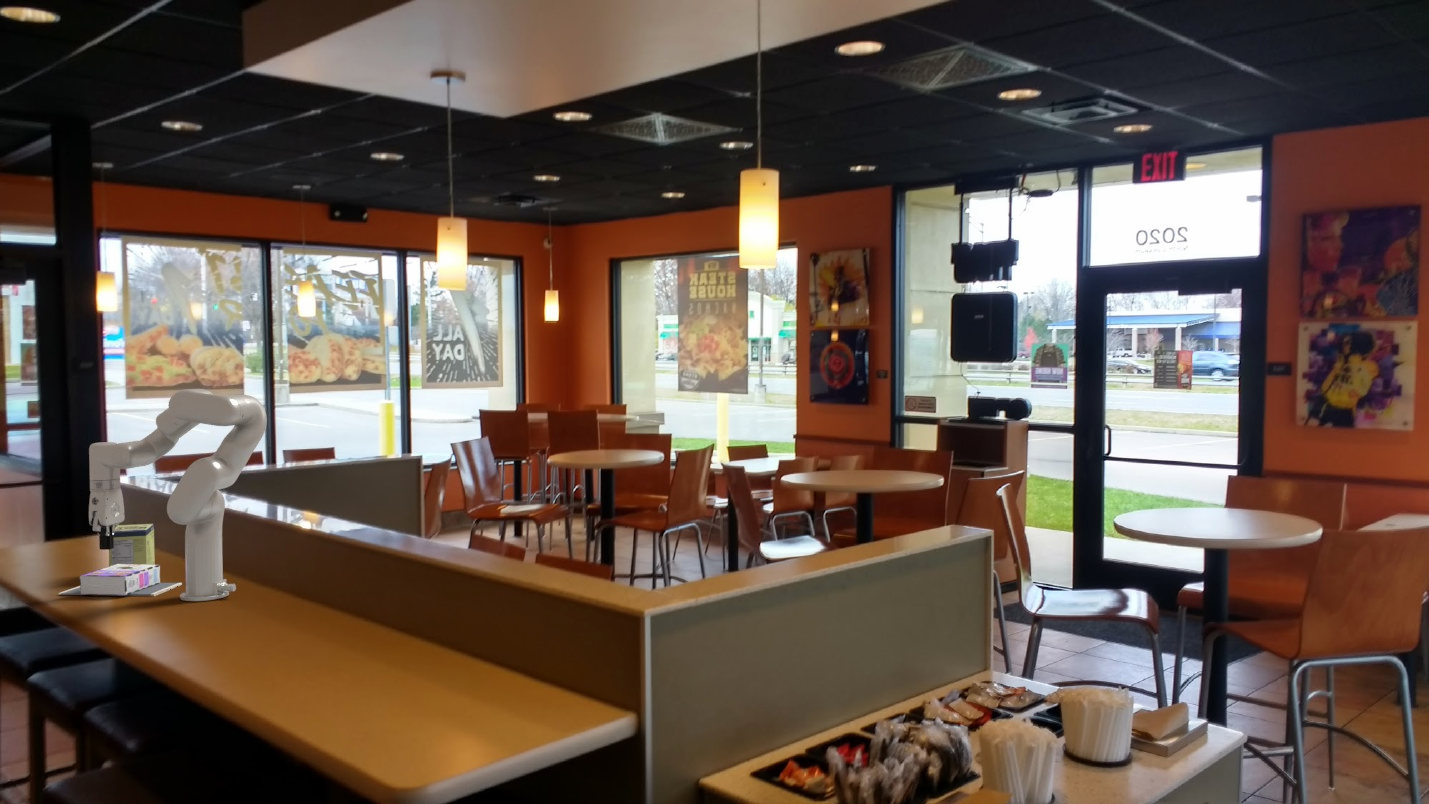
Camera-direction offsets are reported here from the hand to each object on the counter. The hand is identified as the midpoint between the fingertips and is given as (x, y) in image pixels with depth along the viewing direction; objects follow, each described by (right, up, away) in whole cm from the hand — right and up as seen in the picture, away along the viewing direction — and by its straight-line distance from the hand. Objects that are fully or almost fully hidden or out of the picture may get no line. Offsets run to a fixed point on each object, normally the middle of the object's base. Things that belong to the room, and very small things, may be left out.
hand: (106, 548), depth 298 cm
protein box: (-7, -13, +26) cm, 30 cm away
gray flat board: (0, -13, +7) cm, 15 cm away
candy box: (0, -10, -2) cm, 10 cm away
